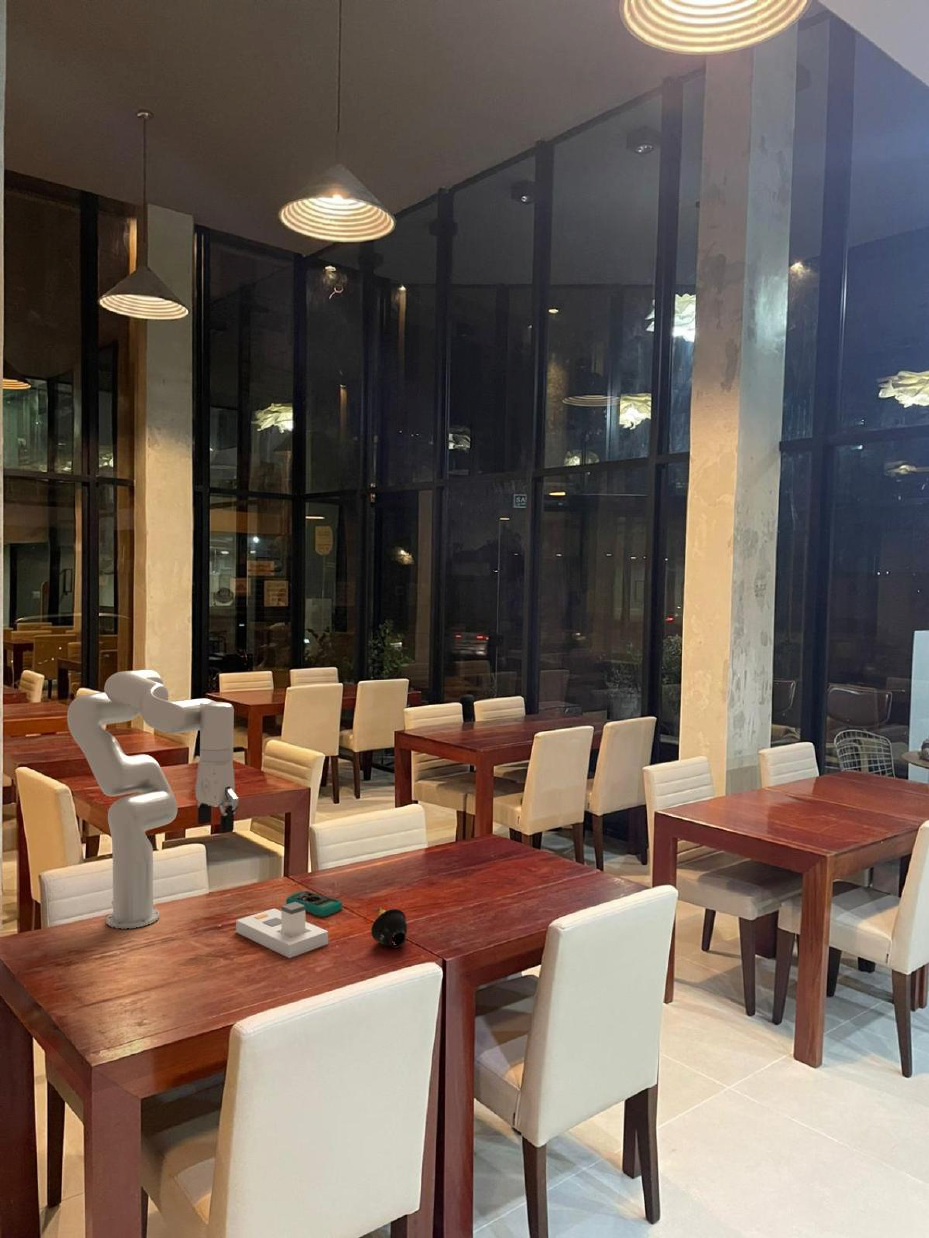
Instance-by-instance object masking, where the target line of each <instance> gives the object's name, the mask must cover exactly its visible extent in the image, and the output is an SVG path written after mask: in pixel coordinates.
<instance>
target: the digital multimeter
mask: <svg viewBox="0 0 929 1238" xmlns="http://www.w3.org/2000/svg"><path fill="white" fill-rule="evenodd" d="M285 901H286V902H285V903H286V904H290V903H293V902H297V903H300V904H302V905H305V912H306V911H307V913H309V912H310V913H309V914H313V915H315V916H318V917H322V918H323V917H327V916H329V915H333V914H335V913H338V912H340V911H341V910H342V909H343V901H341V900H339V899H336V898H331V897H328V896H324V895H320V894H319V893H318V894H317V893H314V892H310V891H307V890H302V891H299V892H295V893H293V894H291V895H289V896H288V897H287V898H286V900H285ZM286 904H285V905H286ZM339 910H340V911H339Z"/></svg>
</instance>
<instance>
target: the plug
mask: <svg viewBox="0 0 929 1238" xmlns="http://www.w3.org/2000/svg"><path fill="white" fill-rule="evenodd" d="M280 909H281V910H280V911H281V934H283V935H285V936H287V937H289V938H293V937H296V936H299V935H302V934H304V933H305V922H306V911H305V905H302V904H300V903H297V902H293V903H290V904H283V905H281V907H280Z"/></svg>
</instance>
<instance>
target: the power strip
mask: <svg viewBox="0 0 929 1238" xmlns="http://www.w3.org/2000/svg"><path fill="white" fill-rule="evenodd" d="M235 923H236V924H235V926H236V929H235V933H237V934H239V935H241V936H243V937H245V938H247V939H249V940H251V941H254V942H256V943H258V944H260V945H262V946H263V947H265V948H268V949H270V950H272V951H274V952H276V953H278V954H280V955H282V956H284V957H287V958H288V959H291V958H293V957H296V956H299V955H302V954H305V953H307V952H310V951H314V950H316V949H318V948H321V947H325V946H326V945H328V944H329V931H328V930H326V929H324V928H322V927H320V926H317V925H314V924H312V923H309V922H307V921H305V933H304V934H302V935H299V936H296V937H293V938H289V937H287V936H285V935H283V934H281V910H279V909H276V908H271V909H268V910H265V911H262V912H258V913H255V914H252V915H248V916H245V917H241V918H239V919H236V920H235Z"/></svg>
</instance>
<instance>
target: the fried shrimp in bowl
mask: <svg viewBox="0 0 929 1238" xmlns="http://www.w3.org/2000/svg"><path fill="white" fill-rule="evenodd" d="M375 912H376V915H377V918H375V921H374V922H373V923H372V926H371V931H370V932H371V936H372V937H373V939H374V940H375V941H377V942H379V943H380V944H382V945H384V946H387V947H392V948H395V949H396V948H400V947H401V946H403V945H404V944H405V943H406V940H407V939H406V935H407V931H408V926H407V925H408V924H407V922H406V921H407V917H406V914H405V913H404V912H403V911H402V910H400V909H398V908H394V909H393V908H392V909H388V910H385V909H382V908H381V907H377V908H376V909H375ZM393 936H394V937H393ZM392 941H393V942H395V944H396V945H393V944H392Z"/></svg>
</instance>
